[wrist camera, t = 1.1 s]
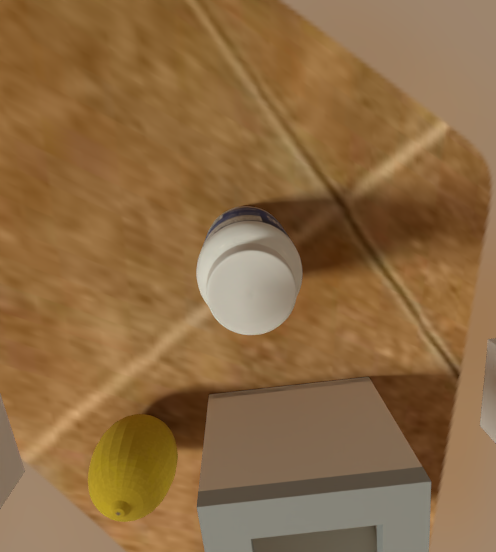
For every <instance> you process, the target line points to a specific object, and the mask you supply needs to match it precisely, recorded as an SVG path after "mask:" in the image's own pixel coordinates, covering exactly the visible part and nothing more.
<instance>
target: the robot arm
mask: <svg viewBox="0 0 496 552" xmlns="http://www.w3.org/2000/svg"><path fill="white" fill-rule="evenodd" d="M480 426H481V428H482V429H483V430H484V431H485V432H486V433H487V434H488V435H489V436H490V438H491V439H492V440H493V441H494V442H495V443H496V338H495V339H488V345H487V356H486V367H485V378H484V388H483V399H482V410H481V420H480ZM24 472H25V470H24V466H23V463H22V460H21V457H20V454H19V451H18V448H17V445H16V441H15V438H14V435H13V432H12V429H11V426H10V423H9V420H8V416H7V413H6V410H5V407H4V404H3V401H2V398H1V395H0V509H1V507H2V506H3V504H4V503H5V501H6V499H7V498H8V496H9V495H10V493H11V492H12V490H13V489H14V487H15V486H16V484H17V483H18V481H19V480H20V478H21V477H22V475H23V473H24Z"/></svg>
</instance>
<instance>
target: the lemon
mask: <svg viewBox="0 0 496 552" xmlns="http://www.w3.org/2000/svg"><path fill="white" fill-rule="evenodd" d="M177 457H178V455H177V447H176V441H175V438H174V436H173V434H172V432H171V430H170V429H169V428H168V426H167V425H166V424H165V423H164V422H162V421H161V420H160V419H158V418H156V417H154V416H151V415H146V414H135V415H131V416H127V417H125V418H123V419H121V420H119V421H117V422H116V423H115V424H113V425H112V426H111V427H110V428H109V429H108V430H107V431H106V432H105V433H104V435H103V436H102V438H101V439H100V441H99V443H98V444H97V446H96V448H95V450H94V453H93V456H92V459H91V463H90V467H89V473H88V486H89V494H90V497H91V499H92V502H93V504H94V505H95V506H96V508H97V509H98V510H99V512H101V513H102V514H103V515H105V516H106V517H108V518H110V519H112V520H116V521H122V522H127V521H134V520H137V519H140V518H143V517H145V516H146V515H148V514H149V513H151V512H152V511H153V510H155V508H156V507H157V506H158V505H159V504H160V503H161V502H162V500H163V499H164V497H165V496H166V494H167V492H168V490H169V488H170V486H171V484H172V482H173V479H174V476H175V472H176V465H177Z"/></svg>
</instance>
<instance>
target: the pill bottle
mask: <svg viewBox="0 0 496 552" xmlns="http://www.w3.org/2000/svg"><path fill="white" fill-rule="evenodd" d="M197 282H198V286H199V290H200V293H201V295H202V297H203V299H204V300H205V302H206V303H207V305H208V306H209V308H210V310H211V312H212V314H213V316H214V317H215V318H216V320H217V321H218V322H219V323H220V324H222V325H223V326H224V327H226V328H227V329H229V330H231V331H233V332H236V333H239V334H243V335H258V334H263V333H266V332H269V331H271V330H273V329H275V328H277V327H278V326H280V325H281V324H282V323H283V322H284V321H285V320H286V319H287V318H288V316H289V315H290V313H291V312H292V310H293V308H294V305H295V301H296V297H297V295H298V293H299V290H300V287H301V283H302V264H301V259H300V256H299V253H298V251H297V249H296V247H295V245H294V244H293V242H292V241H291V239H290V238H289V236H288V235H287V233H286V232H285V230H284V229H283V227H282V226H281V224H280V223H279V222H278V221H277V219H276V218H275V217H274V216H272V215H271V214H270V213H268V212H267V211H265V210H263V209H260V208H257V207H251V206H242V207H236V208H233V209H230V210H228V211H226V212H225V213H223V214H222V215H220V216H219V217H218V218H217V219H216V220H215V221H214V223H213V224H212V226H211V227H210V229H209V231H208V234H207V236H206V239H205V242H204V244H203V247H202V250H201V253H200V255H199V258H198V263H197Z"/></svg>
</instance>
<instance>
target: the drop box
mask: <svg viewBox="0 0 496 552" xmlns="http://www.w3.org/2000/svg"><path fill="white" fill-rule="evenodd" d="M430 503H431V480H430V478H429V477H428V475H427V473H426V472H425V470H424V468H423V467H422V465H421V463H420V462H419V460H418V458H417V457H416V455H415V453H414V452H413V450H412V448H411V447H410V445H409V443H408V442H407V440H406V438H405V437H404V435H403V433H402V432H401V430H400V428H399V427H398V425H397V423H396V422H395V420H394V418H393V416H392V415H391V413H390V411H389V410H388V408H387V406H386V405H385V403H384V401H383V400H382V398H381V396H380V395H379V393H378V391H377V390H376V388H375V386H374V385H373V383H372V381H371V380H370V378H369V377H362V378H353V379H344V380H335V381H326V382H317V383H308V384H299V385H290V386H281V387H272V388H263V389H254V390H245V391H236V392H227V393H217V394H209V399H208V408H207V417H206V426H205V436H204V445H203V454H202V463H201V473H200V482H199V491H198V500H197V511H198V517H199V522H200V528H201V533H202V538H203V544H204V549H205V552H429V532H430Z"/></svg>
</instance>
